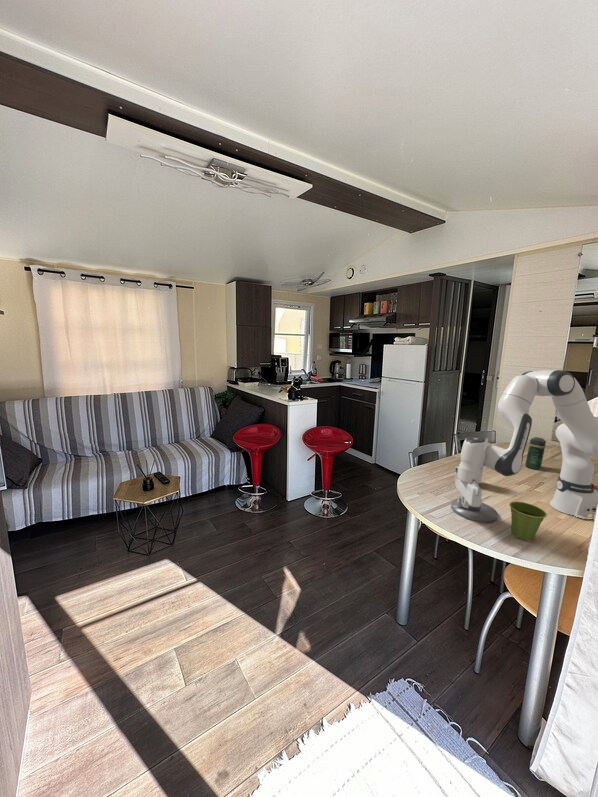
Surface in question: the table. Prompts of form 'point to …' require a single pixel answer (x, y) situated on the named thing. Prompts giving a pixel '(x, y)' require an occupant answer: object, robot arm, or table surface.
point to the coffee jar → (535, 453)
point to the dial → (468, 506)
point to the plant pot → (525, 520)
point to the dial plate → (476, 513)
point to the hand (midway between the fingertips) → (464, 506)
